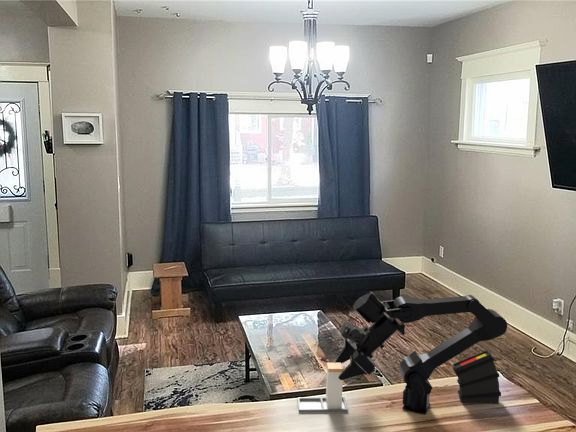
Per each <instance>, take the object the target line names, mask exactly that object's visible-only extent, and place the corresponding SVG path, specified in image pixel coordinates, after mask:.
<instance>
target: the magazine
mask: <svg viewBox="0 0 576 432" xmlns="http://www.w3.org/2000/svg"><path fill="white" fill-rule="evenodd" d="M494 361H495V358H494V356H493V355H492V354H491V352H490V351H489V350H483V351H481V352H479V353H476V354H474V355H472V356H470V357H467V358H465V359H464V358H463V360H460V361H457V362H455V363H453V364H452V366H453V367H452V370H453V371H454V374H455V375H456V376H457V379H456V382H457V384H458V386H459V390H457V394H458V398H459V400H460V402H461V403H463V404H464V403H465V404H495V405H496V404H499V403H500V397H501V396H502V391H500V383H499V378H500V373H499V372H498V370H497V367H496V364H495V362H494Z"/></svg>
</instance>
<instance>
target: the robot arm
mask: <svg viewBox="0 0 576 432" xmlns="http://www.w3.org/2000/svg"><path fill="white" fill-rule="evenodd" d="M352 309H353V310H354V311H355V312H356V313H357V314H358V315H359V316H360V317H361V318H362V319H363V320H364V321H365V322H366V323H368V324H369V323H371V325H370V326H368V325H366V326H364V327H362V328H360V327H359V326H357V325H355V324H353V323H351V322H348V321H347V320H346V321H344V322H343V324H342V325H341V328H340V330H339V333H340V336H341V337H342V338H343V340H344V341H343V342H344V343H343V347H342V349H341V351H340V353H339V354H338V356H337V357H336V359H335V360H334V362H333V363H341V364H344V363H346V362H347V361H349V363H348V365H347V366H346V367H345V368H343V372H342V373H341V374H340V376H339V377H338V378H339V379H340V380H343V381H344V380H346V379H350V378H355V377H357V376H362V375H369V376H371V375H372V374H373V373H374V372H375V371H376V365H375V362H374V360H373V358H374V353H375V352H377V350H378V349H379V348H380V349H383V348H384V347H385V343H386V341H388V340H389V339H390V338H391V337H392V336H394V334H395V333H396V332H399V333H400V334H401V335H403V336H405V334H406V333H405V328H406V324H409V323H414V322H417V321H420V320H422V319H423V318H426V317H429V316H430V317H431V316H440V315H451V314H452V315H454V314H463V313H464V314H465V313H471V314H472V315H473V316H474V318H473V319H472V320H471V322H470V324H469V326H467V327H466V328H464V329H463V330H461V331H460V332H458V333H457V334H455V335H453V336H451V337H450V338H448V339H446V340H444V341H443V342H441V343H440V344H439V345H437V346H435V347H433V348H432V349H430V350H429V351H427V352H425V353H420V354H418V352H417V351H416V350H414V351H412V352H411V353H409V355H407V356H403V360H402V361H400V363H399V365H398V371H399V373H400V376H401V377H402V379H403V381H404V383H405V384H406V385H405V387H404V389H403V392H402V405H403V406H402V410H404V411H407V412H410V413H411V412H412V413H414V414H415V413H416V414H420V415H426V414H427V413H428V410H429V408H430V407H431V403H430V394H431V392H432V390H433V386H432V384H431V383H430V381H429V379H430V377H431V376H432V374H433V373H434V371H435V370H437V368H439V367H440V366H442V365H444V364H445V363H447V362H449V361H450V360H452V359H453V358H455V357H456V356H458V355H460V354H462V353H463V352H464V351H466V350H468V349H470V348H471V347H473V346H475V345H476V344H478V343H480V342H486V341H492V340H495V339H497V338H499V337H502V336H503V335H505V334H506V332H507V330H508V329H507V328H508V322H507V320H506V319H505V318H504V317H503V316H502V315H501V314H500V313H498V312H497V311H496V310H494V309H491V308H487V307H485V306H484V305H483V304H481V302H480V301H479V300H478V299H477V297H475V296H474V295H472V294H467V295H466V294H465V295H462V296H449V297H437V298H427V299H425V298H418V297H413V296H402V295H401V296H398V297H396V298H395V299H391V300H384V301H381V300H380V299H378V297H377V296H376V295H375V294H374V292H373V291H369V293H366V294H364V295H362V296H360V297H358V299H357V300H356V301H355V302H354V304H353V305H352Z"/></svg>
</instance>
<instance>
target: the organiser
mask: <svg viewBox="0 0 576 432" xmlns="http://www.w3.org/2000/svg"><path fill="white" fill-rule="evenodd" d="M296 399H297V408H298V413H300V414H302V413H303V414H304V413H306V414H307V413H309V414H310V413H311V414H312V413H313V414H314V413H315V414H316V413H318V414H319V413H349V408H348V404H347V402H346V401H347V400H346V398H345V396H342V409H327V406H326V396H325V397H324V396H323V397H322V396H318V397H317V396H315V397H310V396H309V397H307V396H306V397H301V396H299V397H297V398H296Z"/></svg>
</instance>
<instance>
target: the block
mask: <svg viewBox="0 0 576 432" xmlns="http://www.w3.org/2000/svg"><path fill="white" fill-rule="evenodd" d="M342 364H343V363H342ZM342 364H341V363H334V362H326V380H325V382H326V383H325V384H326V386H325V389H326V390H325V397H326V406H327V409H342V397H343V381H344V380H340V379H339V378H338V377H339V376H340V374H341V373H342V372H343V371H344V367H343V365H342Z"/></svg>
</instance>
